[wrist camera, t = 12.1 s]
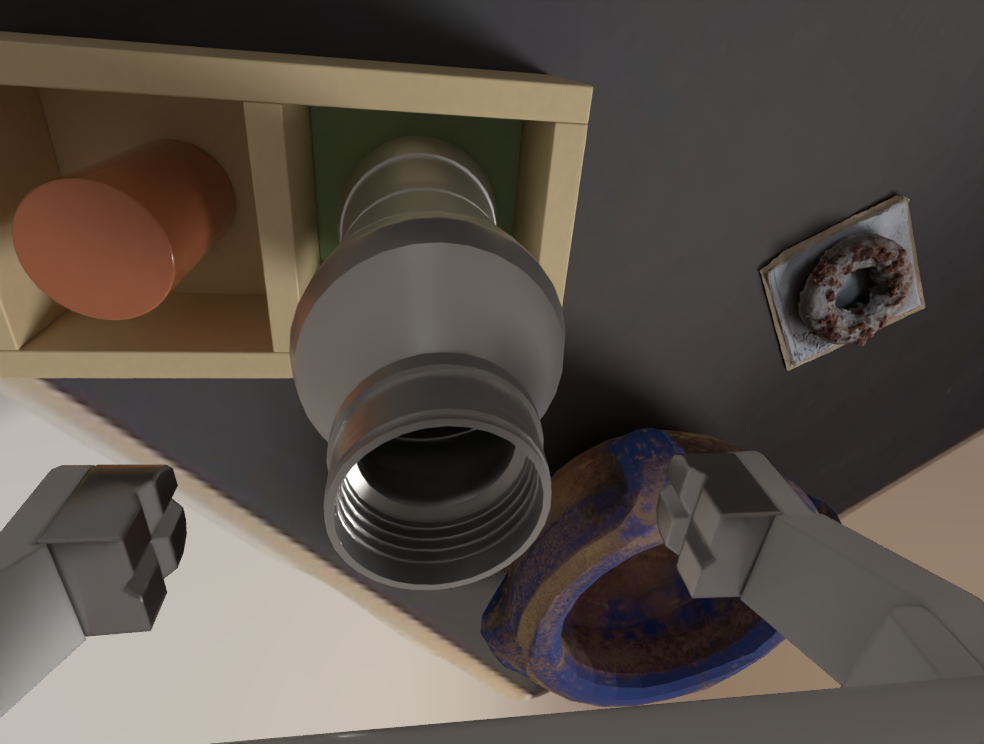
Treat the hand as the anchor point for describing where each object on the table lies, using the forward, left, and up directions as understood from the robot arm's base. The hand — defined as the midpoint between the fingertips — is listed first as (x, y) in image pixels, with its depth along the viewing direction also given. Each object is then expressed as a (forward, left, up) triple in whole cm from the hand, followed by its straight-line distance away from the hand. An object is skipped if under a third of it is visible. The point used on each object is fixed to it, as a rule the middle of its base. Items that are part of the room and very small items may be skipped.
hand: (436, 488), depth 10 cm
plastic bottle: (0, 0, -20) cm, 20 cm away
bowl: (+19, +14, -21) cm, 32 cm away
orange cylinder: (0, -10, -20) cm, 22 cm away
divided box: (0, -5, -21) cm, 21 cm away
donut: (+4, +24, -21) cm, 32 cm away
